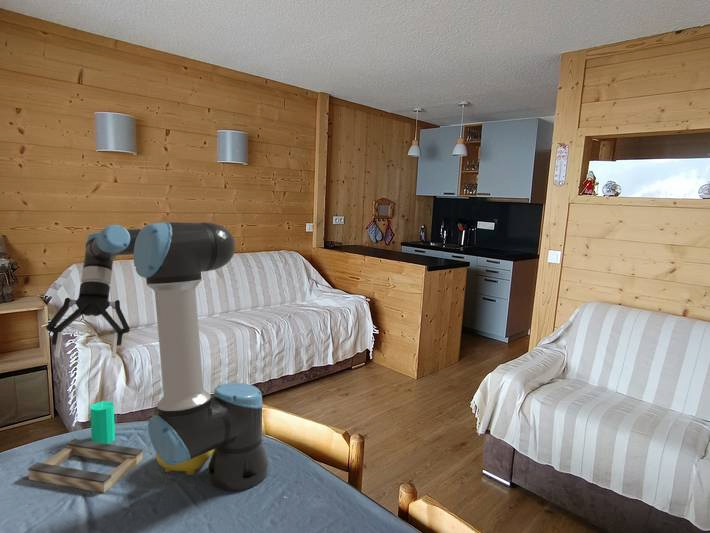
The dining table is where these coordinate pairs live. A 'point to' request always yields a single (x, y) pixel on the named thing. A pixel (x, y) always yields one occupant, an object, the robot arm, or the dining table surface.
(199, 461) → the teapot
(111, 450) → the rectangular wooden frame
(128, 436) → the dining table surface
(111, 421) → the candle
